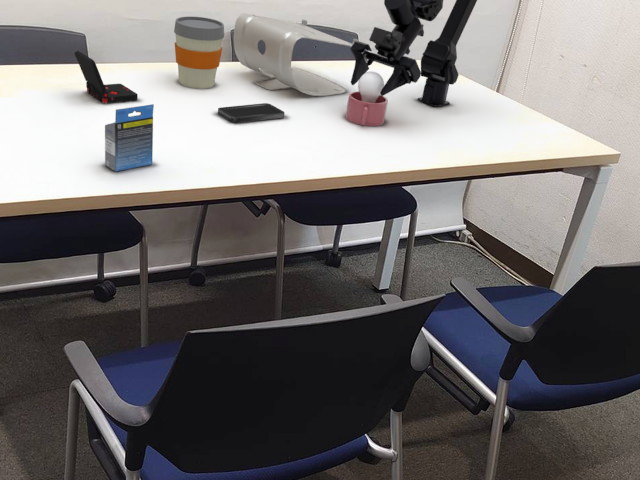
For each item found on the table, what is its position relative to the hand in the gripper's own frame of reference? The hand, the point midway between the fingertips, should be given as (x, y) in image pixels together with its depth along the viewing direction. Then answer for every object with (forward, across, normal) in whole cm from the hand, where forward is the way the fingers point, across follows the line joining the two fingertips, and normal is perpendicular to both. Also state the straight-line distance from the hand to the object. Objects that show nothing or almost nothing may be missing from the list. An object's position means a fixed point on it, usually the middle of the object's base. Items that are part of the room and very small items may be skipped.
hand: (366, 89), depth 213 cm
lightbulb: (+4, 0, +6) cm, 7 cm away
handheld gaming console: (+38, -42, -27) cm, 62 cm away
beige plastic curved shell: (0, -30, +11) cm, 32 cm away
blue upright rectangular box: (+54, -5, -43) cm, 69 cm away
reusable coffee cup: (+18, -41, -7) cm, 45 cm away
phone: (+22, -16, -11) cm, 29 cm away
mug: (+5, +1, +6) cm, 8 cm away
